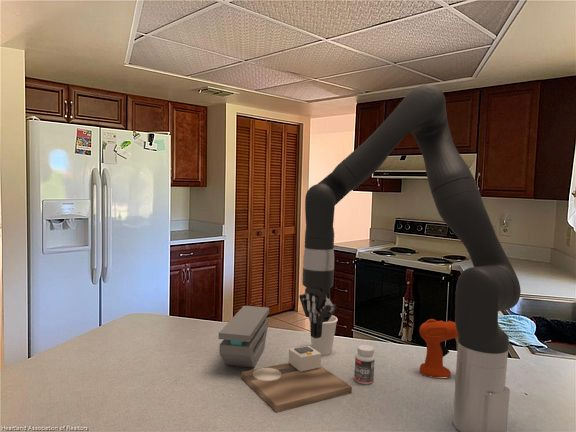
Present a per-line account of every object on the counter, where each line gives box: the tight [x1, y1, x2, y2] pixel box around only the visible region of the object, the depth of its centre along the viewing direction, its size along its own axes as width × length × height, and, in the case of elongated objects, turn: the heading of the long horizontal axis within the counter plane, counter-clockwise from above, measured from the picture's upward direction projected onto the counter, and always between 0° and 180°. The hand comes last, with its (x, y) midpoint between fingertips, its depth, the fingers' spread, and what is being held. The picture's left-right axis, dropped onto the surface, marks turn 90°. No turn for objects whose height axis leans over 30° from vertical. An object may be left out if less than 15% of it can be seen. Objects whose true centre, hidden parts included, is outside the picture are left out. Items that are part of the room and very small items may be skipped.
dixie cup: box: [309, 314, 338, 356], centre depth 126 cm, size 8×8×10 cm
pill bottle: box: [353, 344, 376, 385], centre depth 108 cm, size 5×5×8 cm
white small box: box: [287, 345, 322, 372], centre depth 112 cm, size 6×6×4 cm
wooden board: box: [241, 362, 353, 413], centre depth 104 cm, size 18×20×2 cm
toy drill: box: [419, 318, 458, 378], centre depth 113 cm, size 5×19×15 cm, turn 80°
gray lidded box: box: [217, 305, 270, 369], centre depth 119 cm, size 25×8×11 cm, turn 172°
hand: (315, 337), depth 106 cm, fingers closed
